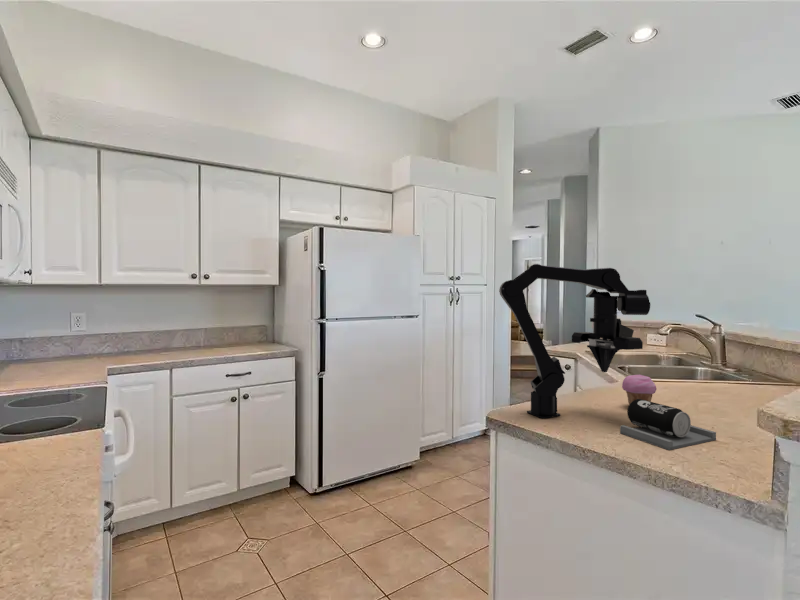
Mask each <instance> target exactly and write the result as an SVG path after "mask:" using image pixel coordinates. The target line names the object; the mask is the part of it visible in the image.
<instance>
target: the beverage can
mask: <svg viewBox="0 0 800 600" xmlns="http://www.w3.org/2000/svg"><path fill="white" fill-rule="evenodd" d="M626 414H627V419H629V422H631V424H632V425H634V426H637V427H643V428H646V429H649V430H652V431H656V432H659V433H662V434H665V435H668V436H671V437H684V436H686V435H687V434H688V432H689V430H690V426H691V424H692V423H691V422H692V421H691V417H690V416H689V414H688V413H687V412H685V411H683V410H682V409H680V408H677V407H672V406H669V405H666V404H661V403H657V402H653V401H651V402H650V401H646V400H642V399H636V400H634V401H632V402H631V403H630V405H629V404H628V407H627V413H626Z"/></svg>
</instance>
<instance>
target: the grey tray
mask: <svg viewBox="0 0 800 600" xmlns="http://www.w3.org/2000/svg"><path fill="white" fill-rule="evenodd" d="M619 433H620V434H621V435H624V436H627V437H630V438H633V439H636V440H638V441H641V442H644V443H647V444H650V445H653V446H656V447H658V448H662V449H665V450H667V451H671V450H676V449H681V448H686V447H691V446H695V445H700V444H703V443H707V442H713V441H717V432H716V431H714V430H709V429H706V428H702V427H699V426H695V425H691V426H690V430H689V432H688V434H687V435H686V436H684V437H671V436H668V435H665V434H662V433H659V432H656V431H652V430H649V429H646V428H643V427H640V426H637V427H634V428H633V427H632V426H631V427H630V426H627V425H624V424H622V425H620V426H619Z"/></svg>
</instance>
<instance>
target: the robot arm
mask: <svg viewBox="0 0 800 600" xmlns="http://www.w3.org/2000/svg"><path fill="white" fill-rule="evenodd" d="M537 279H539V280H546V281H547V280H549V281H556V282H557V281H558V282H567V283H574V284H576V283H578V284H581V285H584V286H587V287H590V288H592V289H591V290H590V291H589V292H588V293H587V294H585V298H589V299H591V298H593V317H589V322H590V323H593V331H592V332H588V331H577V332H576V331H575V332H573V334H572V335H571V343H579V344H580V343H583V342H588V345H586V347H587V348H588V349H589V350H590V352H591V353H592V355H593V357H594V359H595V361H596V363H597V365H598V367H599V368H600V371H601V372H602V373H607V372H608V371H609V368H610V366H611V364H612V360H613V358H614V357H615V355H616V353H618V351H620V350H624V351H625V350H626V351H627V350H632V351H633V350H643V344H644V343H643V340H642V338H640V337H633V336H634V335H633V334H634V331H635V330H634V329H632V328H630V327H628V326H626V325H624V324H623V325H622V320H621V318H618V312H621V314H622V316H624V315H625V316H626V315H627V316H647V315H649V313H650V310H651V301H650V298H649V296H648V294H647V290H646V289H636V290H630V289H628V287H627V286H626V285H625V284H624V282H623V281H622V279H621V275H620V273H619V272H618V271H617V269H615V268H613V267H604V268H603V267H600V268H599V267H598V268H588V269H585V268H584V269H581V268H580V269H579V268H573V267H572V268H571V267H563V266H560V267H559V266H550V265H542V264H539V263H534V264H531V265H530V266H529V267H528V268H526V269H525V270H524V271H523V272H522V273H520V274H519V275H518V276H516V277H515V278H514V279H510V280H506V281H504V282H502V283H501V285H500V286H499V288H498V289H499V290H498V291H499V295H500V297H501V299H502V300H503V301H504V303H505V304H506V305H507V307H508V308H509V310H510V311H511V312H512V313H513V314H514V317H515V320H516V321H517V323H518V325H519V329H520V330H521V333H522V334H523V336H524V339H525V340H526V343H527V344H528V347H529V349H530V351H531V354H532V355H533V359H534V363H535V369H536V372H537V375H536V376H535V377H534V378H533V379H532V380H530V382H529V383H530V385H531V388H532V389H533V391H531V392H530V410H527V411H526V413H527V414H530V415H533V416H535V417H537V418H539V419H549V418H556V417H560V416H561V413H558V398H557V392H558V390H559V389H560V388H562V386H563V385H564V383H565V376H564V375H565V374H566V372H565V371H564V370H563V368H562V365H561V362H560V359H559V358H557V357H555V356H552V357H551V356H550V355H549V352H548V351H547V349H546V346H545V344H544V341H543V340H542V337H541V336H540V333H539V331H538V329H537V326H536V324H535V323H534V321H533V319H532V316H531V314H530V312H529V310H528V308H527V302H526V301H527V300H526V297H525V293H524V290H525V289H527V288H528V287H529V286H531V285H532V284H533V283H534V282H535V281H536V280H537ZM598 290H603V291H598ZM604 290H605V291H604ZM611 294H618V295H611Z"/></svg>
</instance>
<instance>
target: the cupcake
mask: <svg viewBox="0 0 800 600" xmlns="http://www.w3.org/2000/svg"><path fill="white" fill-rule="evenodd" d="M621 388H622V390H623V391H625V393H626V396H627V402H628V406H629V405H630V403H631V402H632V401H634V400H636V399H642V400H646V401H650V402H652V399H653V395H654V394H655V393H656V392H657V386H656V384H655V382H654V381H653V380H652V378H651V377H650V376H647V375H643V374H632V375H627V376H625V377H624V379H623V380H622V384H621Z"/></svg>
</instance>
